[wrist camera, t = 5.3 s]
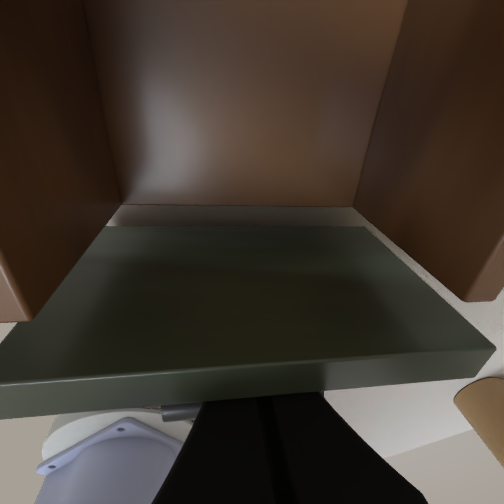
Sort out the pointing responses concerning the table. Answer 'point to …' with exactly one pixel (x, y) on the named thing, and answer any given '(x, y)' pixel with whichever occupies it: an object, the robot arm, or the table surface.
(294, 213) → the table surface
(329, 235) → the drawer
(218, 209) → the table surface
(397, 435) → the table surface
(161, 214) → the table surface
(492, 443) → the paper towel roll
